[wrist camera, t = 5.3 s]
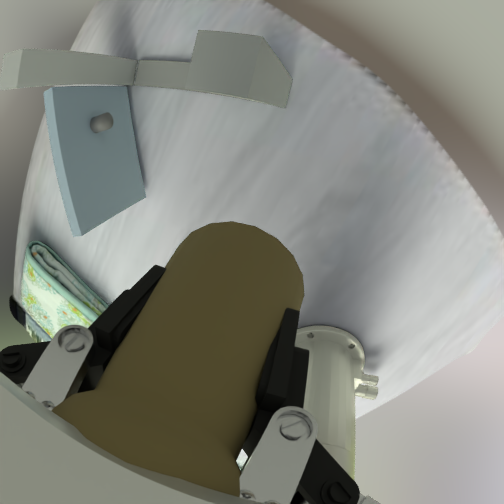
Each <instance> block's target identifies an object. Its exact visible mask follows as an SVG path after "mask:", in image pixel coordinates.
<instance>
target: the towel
mask: <svg viewBox="0 0 504 504" xmlns="http://www.w3.org/2000/svg"><path fill="white" fill-rule="evenodd" d="M21 301H22V303H23V305H24V307H25V309H26V311H27V312H28V313H29V314H30V316H31V317H32V318H33V319H34V320H35V321H36V322H37V323H38V324H39V325H40V326H41V327H42V328H43V329H44V330H45V331H46V332H47V333H48V334H49V335H50V336H51V337H52V338H53V337H54V336H55V334H56V333H57V332H58V331H59V330H60V329H61V328H63V327H65V326H68V325H81V326H83V327H86V328H88V327H89V326H90V325H91V324H92V323H93V322H94V321H95V320H96V319H97V318H98V317H99V316H100V315H101V314H102V313H103V312H104V311H105V310H106V309H107V308H108V307H109V306H108V305H107V304H106V303H105V302H104V301H103V300H102V299H101V298H100V297H99V296H98V295H97V294H96V293H95V292H94V291H92V290H91V289H90V288H89V287H88V286H87V285H86V284H85V283H84V282H83V281H82V280H81V279H80V278H79V277H78V276H77V275H76V273H75V272H74V271H73V270H72V269H71V268H70V267H69V266H68V265H67V264H66V263H65V262H64V261H63V260H62V259H61V258H60V257H59V256H58V255H57V254H56V253H55V252H54V251H53V250H52V249H51V248H49V247H48V246H47V245H45V244H43V243H41V242H40V241H31V242H30V243H29V244H28V245H27V247H26V252H25V258H24V267H23V274H22V283H21Z"/></svg>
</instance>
